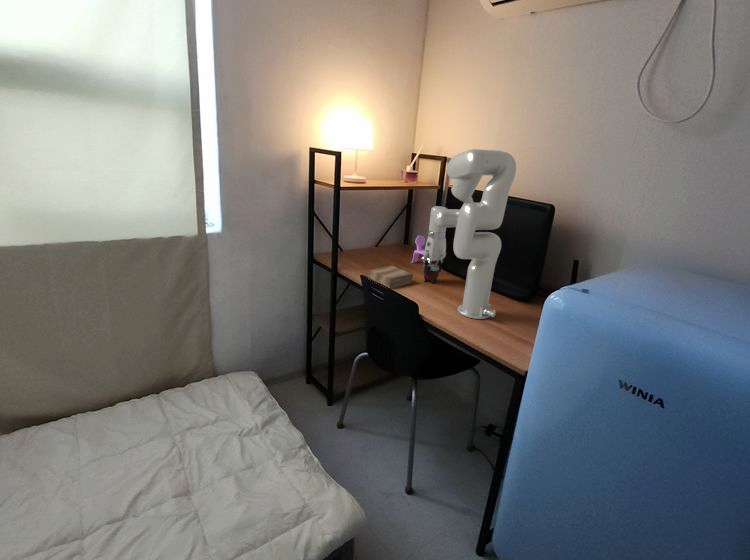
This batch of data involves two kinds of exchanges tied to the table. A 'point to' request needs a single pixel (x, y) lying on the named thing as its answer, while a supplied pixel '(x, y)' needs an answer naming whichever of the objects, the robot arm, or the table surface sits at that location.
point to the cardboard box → (391, 276)
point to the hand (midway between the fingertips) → (432, 272)
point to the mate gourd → (432, 273)
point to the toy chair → (419, 248)
